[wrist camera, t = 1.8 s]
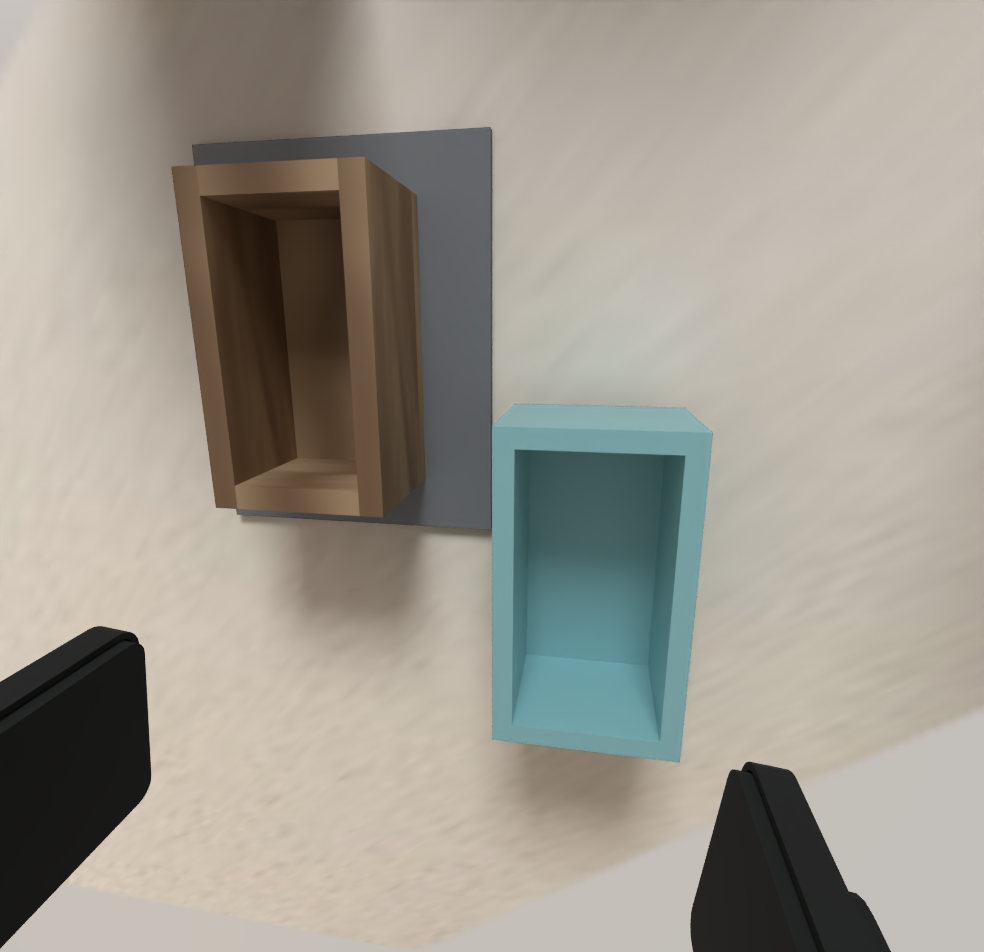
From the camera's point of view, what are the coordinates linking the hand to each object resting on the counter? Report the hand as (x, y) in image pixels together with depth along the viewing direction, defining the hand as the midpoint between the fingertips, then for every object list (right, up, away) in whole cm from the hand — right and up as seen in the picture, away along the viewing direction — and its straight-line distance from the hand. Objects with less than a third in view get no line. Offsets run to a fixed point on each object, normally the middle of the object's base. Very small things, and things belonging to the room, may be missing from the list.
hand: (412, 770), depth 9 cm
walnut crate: (-6, +11, +19) cm, 22 cm away
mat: (-6, +11, +19) cm, 23 cm away
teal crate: (+6, +2, +19) cm, 20 cm away
